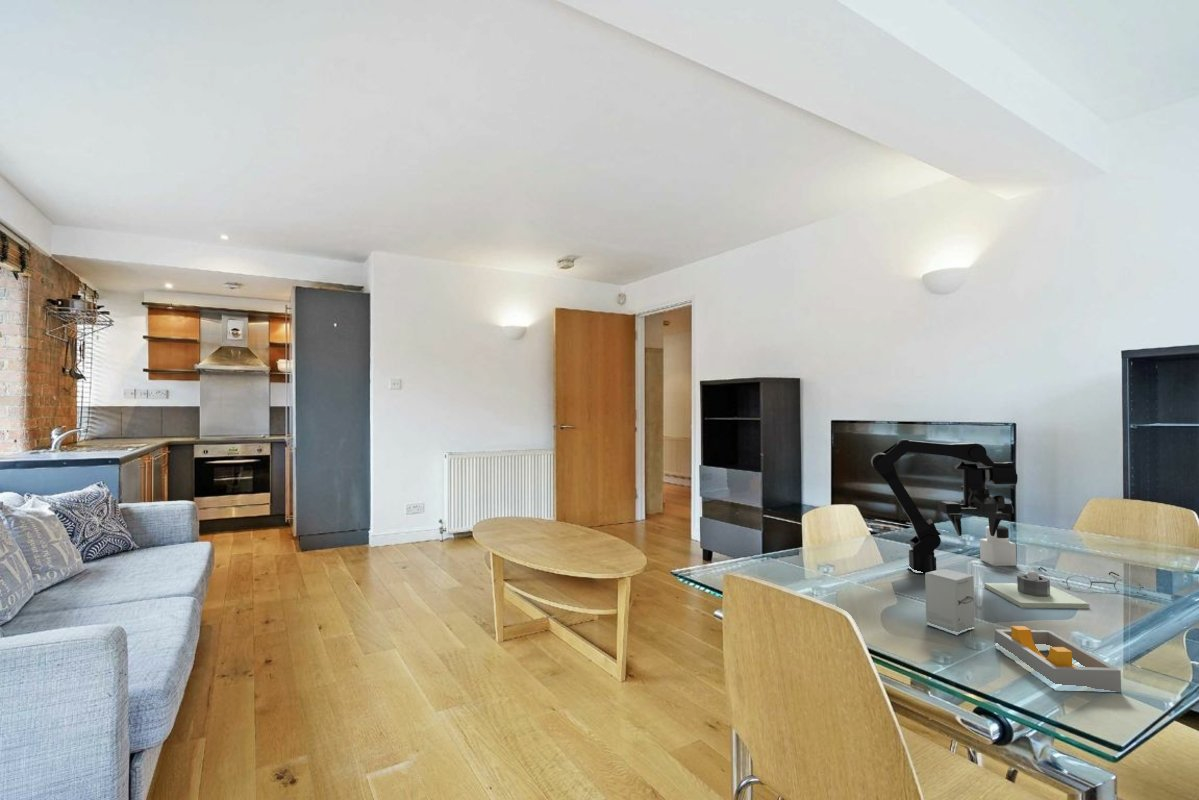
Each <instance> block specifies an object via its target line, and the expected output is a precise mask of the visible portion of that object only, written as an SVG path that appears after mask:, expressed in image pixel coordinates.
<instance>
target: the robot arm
mask: <svg viewBox="0 0 1199 800" xmlns="http://www.w3.org/2000/svg"><path fill="white" fill-rule="evenodd" d="M987 452H988V451H987V450H986V447H984V446H983V444H980V443H976V442H955V443H943V442H941V443H940V442H931V441H922V440H911V439H910V440H909V439H907V438H901V439H899V440H898V441H897V442H896V443H894V444H893V445H891V446H890V447H888V448H886V449H885V450H883V451H882V452H876V453H874V454H873V456H871V459H870V463H871V466H872V467H873V468H874V470H875V471H876V472H877V473H878V474H879V475H880V477H882V479H883V480H884V481H885V482H886V483H887V486H889V488H890V490H891V491H892V493H893V495H894V496H895V498H896V500H897V501H898V503H899V505H900V506H901V508H902V509H903V511H904V513H905V514H906V515H907V518H908V519H909V520H910V524H911V526H912V529H913V532H914V534H915V535H914V536H913V537H912V538H911V539H910V540H908V543H909V546H910V548H911V549H908V566H910V567H911V568H912V569H914V570H917V571H921V572H923V573H927V572H931V571H935V570H937V557H936V556H935V549H937V548H939V547H940V545H941V542H942V539H941V537H940V536H942V534H941V532H940V531H939V530H938V529H937V528H936V525H935V523H934V522H933V520H932V519H931V518H929V519H927V520H926V519H925V518H924V516H923V515H922V513H921V512H920V511H919V509H918V507H917V506H916V504H915V502H914V500H913V499H912V497H911V496H910V494H909V492H908V491H907V489H906V488H905V486H904V484H903V482H902V481H901V480H900V478H899V476H898V473H897V469H896V467H895V465H894V463H896V462H897V461H899V460H900V459H901V458H902V457H903V456H904V455H906V454H907V453H913V454H914V453H916V454H927V455H935V456H936V455H937V456H945V457H951V458H956V459H959V460H960V461H959V462H958V463H957V464H956V465H955V466H954V468H955V469H957V470H962V485H961V486H960V490H961V491H962V492H963V493H962V494H963V499H960V501H961V502H960V503H958V502H955V501H952V500H950V501H948V500H947V501H946V500H944V501H939V503H938V504H937V506H938V507H937V508H938V511H939V512H942V514H945V515H947V517H948V518H949V520H950V522H951V523H952V526H953V528H954V530H955V531H956V534H957V536H959V537H961V536H962V531H963V529H962V521H961V520H962V518H963V514H962V513H961V512H962V511H978V512H980V513H981V514H987V518H988V526H989V530H990V535H991V536H994V535H995V532H996V530H997V527H998V525H1000V523H1001V521H1002V520H1003V519H1004V518H1005V517H1009V514H1014V512H1015V511H1014V507H1013V504H1011V503H1010V502H1005V497H1004V496H1003V495H990V489H989V488H987V486H986V485H987V484H986V483H987V482H990V483H991V485H993V486H995V485H996V486H1016V485H1017V484H1018V478H1019V477H1018V473H1017V470H1016V467H1015V463H1014V462H1012V461H1005V462H999V461H998V462H995V461H993V460H992V459H991V458H990V457H989V456H988V455H987V454H988V453H987ZM964 461H967V462H970V463H965V462H964ZM977 463H978V464H980V465H982V466H978V464H977ZM986 480H987V482H986Z"/></svg>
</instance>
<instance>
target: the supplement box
mask: <svg viewBox="0 0 1199 800" xmlns="http://www.w3.org/2000/svg"><path fill="white" fill-rule="evenodd" d="M924 577H925V579H924V581H925V582H924V583H925V587H924V588H925V619H926V620H925V622H926V621H927V622H929V623H931V624H934V625H937V626H940V627H943V628H946V629H948V630H951V631H955V632H960V631H962V630H965V629H968V628H972V627H975V628H976V626H975V625H976V624H975V619H976V617H975V616H976V615H975V587H974V586H975V585H974V583H975V582H974V575H973V574H968V573H964V572H960V571H957V570H951V569H948V568H947V569H946V568H939V569H936V570H935V571H931V572H927V573H925V574H924Z"/></svg>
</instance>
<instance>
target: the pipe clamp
mask: <svg viewBox="0 0 1199 800" xmlns="http://www.w3.org/2000/svg"><path fill="white" fill-rule="evenodd" d="M1010 630H1011V637H1012V638H1013V639H1015V640H1016V641H1018V642H1019V643H1021V644H1023V645H1024V646H1026V647H1027V648H1029V649H1030V650H1032V651H1033V652H1035V653H1036V654H1038V655H1039V656H1041V657H1043V658H1044V659H1046V660H1047V661H1049V662H1050V663H1052V664H1053V665H1055V666H1056V667H1078V666H1076V665H1074V664H1072V651H1070V650H1068V649H1066V648H1064V647H1050V650H1049V651H1048V655H1047V657H1046V656H1044V655H1043V654H1042V653H1041V651H1038V649H1037V648H1036V646H1035V644H1034V641H1033V639H1032V635H1031V630H1032V629H1030V628H1028V627H1027V626H1024V625H1011V626H1010Z"/></svg>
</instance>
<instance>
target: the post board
mask: <svg viewBox="0 0 1199 800" xmlns="http://www.w3.org/2000/svg"><path fill="white" fill-rule="evenodd" d="M1026 574H1027V576H1028V579H1033V580H1039V576H1040V575H1039V573H1038V572H1037V571H1035V570H1030V571H1028V572H1027V573H1026ZM983 586H984V588H985V589H986V590H989V591H990V592H992V593H994V594H996V595H998V596H1000V597H1001V598H1003V599H1004V600H1007V601H1008V602H1011V603H1013V604H1014V605H1016V606H1018V607H1019V608H1021V609H1023V608H1027V609H1028V608H1030V609H1034V608H1035V609H1090V603H1089V602H1088V601H1087V602H1086V601H1084V600H1082V599H1080V598H1078V597H1076V596H1073V595H1071V594H1069V593H1067V592H1065V591H1062V590H1060V589H1058V588H1057V587H1053V586H1051V585H1050V595H1049V596H1048V597H1036V596H1031V595H1026V594H1023V593H1021V592H1019V591H1018V586H1017V582H1011V583H1010V582H984V584H983Z"/></svg>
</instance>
